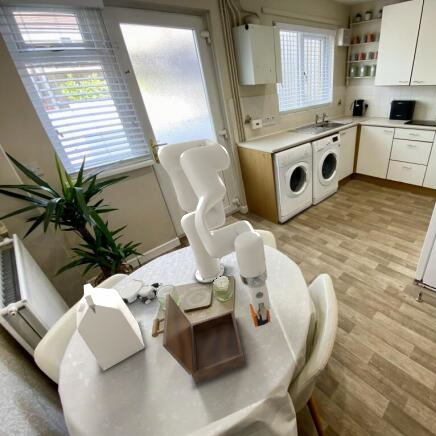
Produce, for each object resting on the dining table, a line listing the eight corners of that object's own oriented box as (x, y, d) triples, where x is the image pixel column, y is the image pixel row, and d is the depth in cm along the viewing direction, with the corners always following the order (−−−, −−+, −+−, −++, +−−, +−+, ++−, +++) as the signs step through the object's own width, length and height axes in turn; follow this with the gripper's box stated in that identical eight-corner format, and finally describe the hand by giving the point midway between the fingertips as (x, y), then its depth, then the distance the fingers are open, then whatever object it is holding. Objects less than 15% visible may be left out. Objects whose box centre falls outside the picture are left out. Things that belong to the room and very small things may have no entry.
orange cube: (266, 310, 80) (264, 299, 77) (270, 321, 75) (269, 311, 73) (251, 315, 78) (249, 304, 76) (255, 327, 74) (253, 316, 72)
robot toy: (166, 286, 106) (132, 284, 106) (163, 279, 103) (129, 277, 104) (150, 309, 95) (113, 307, 95) (147, 301, 93) (109, 299, 93)
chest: (235, 320, 88) (233, 310, 86) (245, 365, 74) (243, 355, 71) (193, 334, 84) (190, 324, 81) (196, 385, 69) (191, 375, 67)
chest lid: (169, 293, 73) (152, 300, 72) (165, 344, 58) (144, 353, 57) (190, 323, 81) (175, 330, 80) (192, 373, 67) (174, 383, 66)
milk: (144, 347, 80) (112, 291, 67) (103, 370, 74) (60, 314, 61) (138, 323, 89) (108, 270, 76) (100, 342, 82) (61, 288, 70)
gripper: (275, 290, 62) (280, 334, 71) (258, 253, 76) (264, 294, 85) (247, 299, 59) (255, 344, 68) (235, 259, 73) (243, 301, 82)
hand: (260, 316), depth 76 cm, fingers closed on orange cube, 5 cm apart
